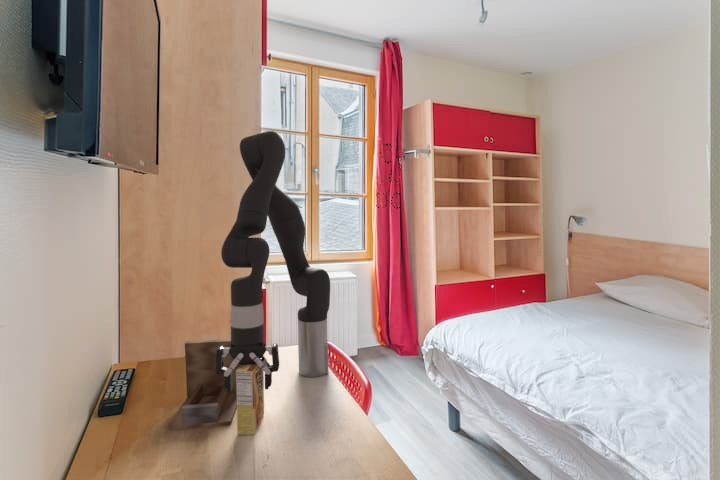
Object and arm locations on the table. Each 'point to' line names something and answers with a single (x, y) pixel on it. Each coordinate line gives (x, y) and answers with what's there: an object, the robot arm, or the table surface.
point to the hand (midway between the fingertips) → (248, 389)
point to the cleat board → (206, 388)
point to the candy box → (249, 398)
